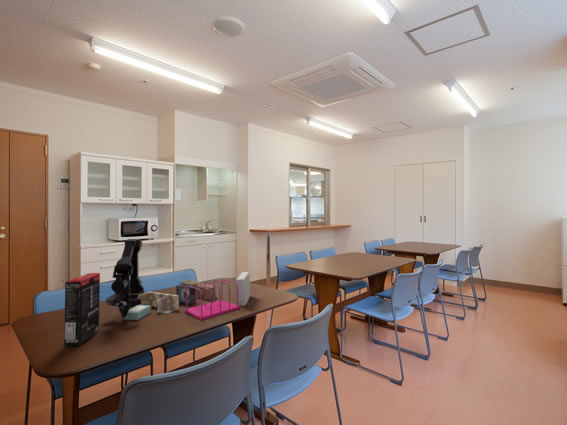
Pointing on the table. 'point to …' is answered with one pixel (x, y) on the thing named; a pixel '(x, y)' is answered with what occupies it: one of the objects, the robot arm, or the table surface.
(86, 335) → the graphics card box
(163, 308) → the bookend
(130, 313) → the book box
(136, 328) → the table surface
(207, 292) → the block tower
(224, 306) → the file sorter
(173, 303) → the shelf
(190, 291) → the small box
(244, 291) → the skincare box
